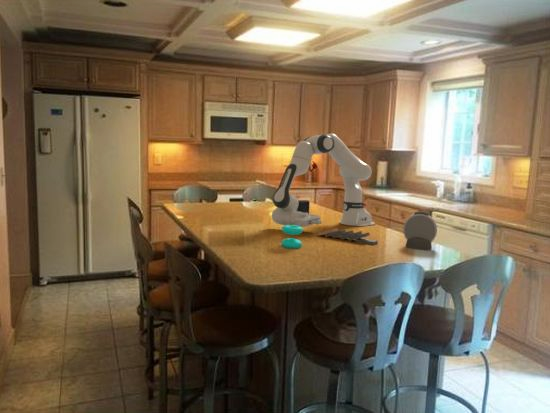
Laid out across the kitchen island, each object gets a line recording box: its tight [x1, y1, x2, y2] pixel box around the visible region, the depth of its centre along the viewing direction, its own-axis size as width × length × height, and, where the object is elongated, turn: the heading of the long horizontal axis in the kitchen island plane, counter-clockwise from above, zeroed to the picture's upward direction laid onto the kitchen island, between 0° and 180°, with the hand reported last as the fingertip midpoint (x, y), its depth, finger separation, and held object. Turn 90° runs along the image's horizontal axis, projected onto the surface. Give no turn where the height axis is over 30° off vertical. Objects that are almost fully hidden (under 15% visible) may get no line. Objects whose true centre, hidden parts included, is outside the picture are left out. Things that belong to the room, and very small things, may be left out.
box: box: [297, 199, 310, 214], centre depth 325 cm, size 8×6×11 cm
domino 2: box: [324, 228, 347, 238], centre depth 255 cm, size 2×5×10 cm
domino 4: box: [340, 230, 363, 241], centre depth 250 cm, size 2×5×10 cm
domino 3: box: [332, 229, 355, 239], centre depth 253 cm, size 2×5×10 cm
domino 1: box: [316, 227, 339, 237], centre depth 258 cm, size 2×5×10 cm
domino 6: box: [355, 237, 379, 246], centre depth 246 cm, size 2×5×10 cm
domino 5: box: [347, 231, 371, 242], centre depth 248 cm, size 2×5×10 cm
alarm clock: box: [402, 210, 438, 251], centre depth 239 cm, size 16×10×18 cm, turn 70°
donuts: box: [280, 225, 303, 250], centre depth 229 cm, size 10×10×10 cm
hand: (320, 222), depth 260 cm, fingers closed
